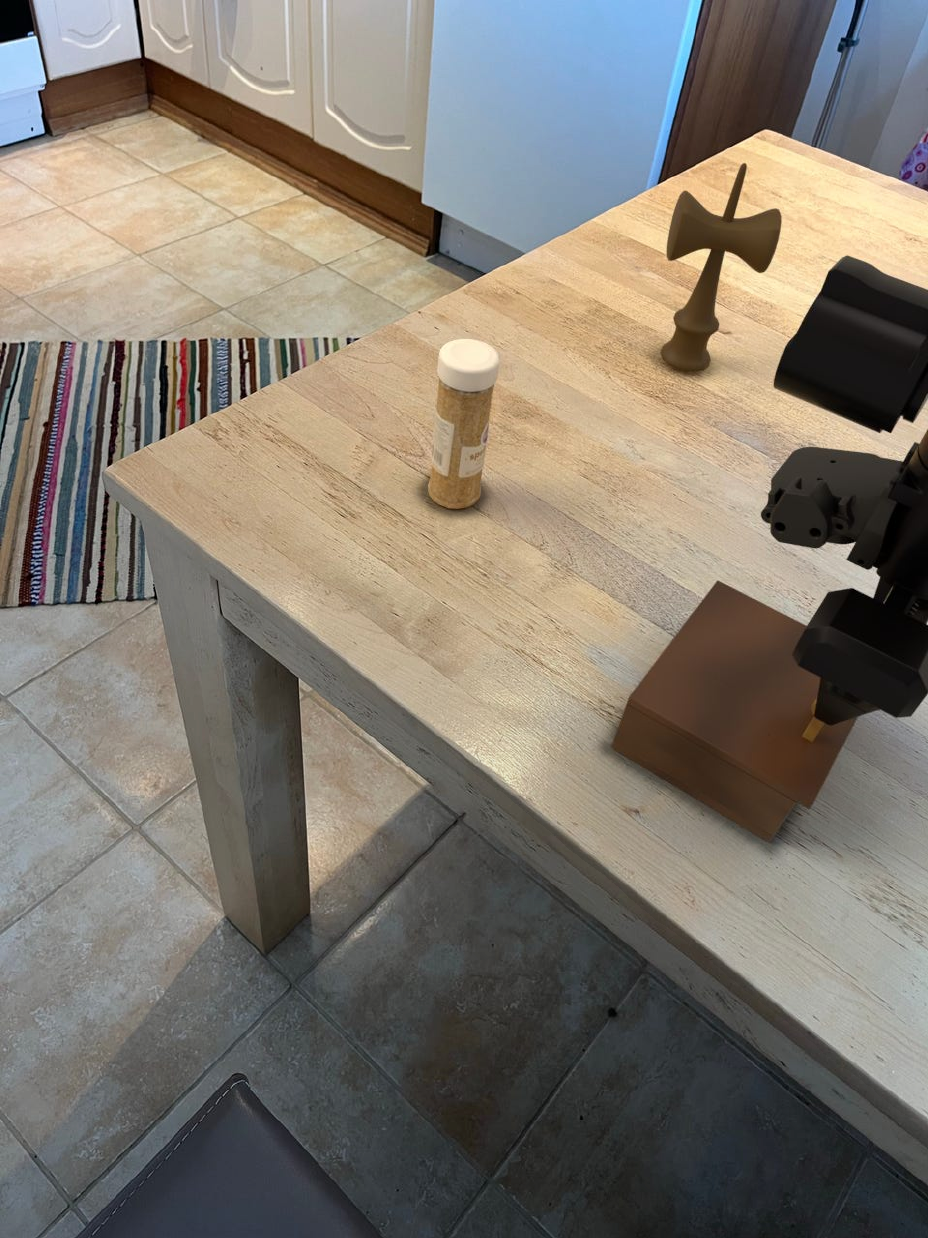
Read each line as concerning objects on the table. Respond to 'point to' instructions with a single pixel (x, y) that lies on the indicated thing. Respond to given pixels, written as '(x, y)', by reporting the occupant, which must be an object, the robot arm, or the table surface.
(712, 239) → the kendama
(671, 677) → the lid
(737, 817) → the keepsake box
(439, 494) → the spice jar
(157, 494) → the table surface
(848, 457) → the robot arm
